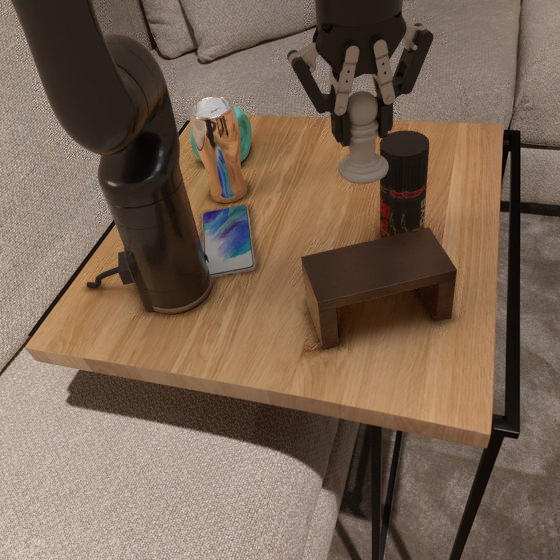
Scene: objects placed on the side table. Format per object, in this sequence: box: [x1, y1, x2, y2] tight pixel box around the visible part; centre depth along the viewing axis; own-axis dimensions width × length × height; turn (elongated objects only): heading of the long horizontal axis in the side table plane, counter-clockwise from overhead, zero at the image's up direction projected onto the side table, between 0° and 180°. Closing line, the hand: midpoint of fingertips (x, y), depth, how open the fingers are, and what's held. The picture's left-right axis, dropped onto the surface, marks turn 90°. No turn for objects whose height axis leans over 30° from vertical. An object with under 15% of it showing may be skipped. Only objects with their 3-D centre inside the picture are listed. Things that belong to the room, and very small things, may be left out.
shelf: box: [300, 226, 458, 350], centre depth 70 cm, size 16×8×8 cm, turn 102°
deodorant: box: [379, 130, 430, 239], centre depth 77 cm, size 6×6×15 cm
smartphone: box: [201, 204, 256, 279], centre depth 86 cm, size 7×1×15 cm
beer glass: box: [188, 95, 248, 204], centre depth 90 cm, size 7×7×15 cm
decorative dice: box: [189, 104, 252, 163], centre depth 100 cm, size 8×8×8 cm
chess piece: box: [337, 90, 389, 185], centre depth 60 cm, size 5×5×9 cm
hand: (362, 137), depth 60 cm, fingers closed on chess piece, 3 cm apart
